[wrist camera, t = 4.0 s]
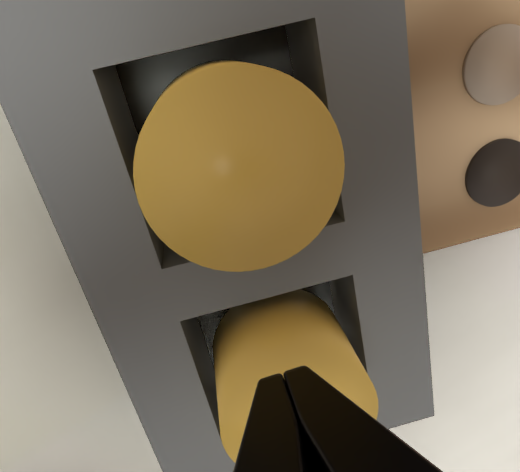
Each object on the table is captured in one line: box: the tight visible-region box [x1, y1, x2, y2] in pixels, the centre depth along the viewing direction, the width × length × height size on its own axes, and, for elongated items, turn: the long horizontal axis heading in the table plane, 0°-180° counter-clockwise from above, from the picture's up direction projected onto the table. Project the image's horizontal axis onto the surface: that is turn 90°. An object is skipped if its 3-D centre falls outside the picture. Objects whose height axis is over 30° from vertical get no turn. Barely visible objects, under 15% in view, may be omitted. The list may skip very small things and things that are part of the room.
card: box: [405, 0, 520, 254], centre depth 17 cm, size 14×8×1 cm, turn 12°
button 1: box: [213, 289, 378, 462], centre depth 16 cm, size 5×5×4 cm
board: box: [0, 0, 434, 472], centre depth 15 cm, size 25×11×4 cm, turn 12°
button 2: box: [133, 60, 345, 272], centre depth 12 cm, size 5×5×4 cm
